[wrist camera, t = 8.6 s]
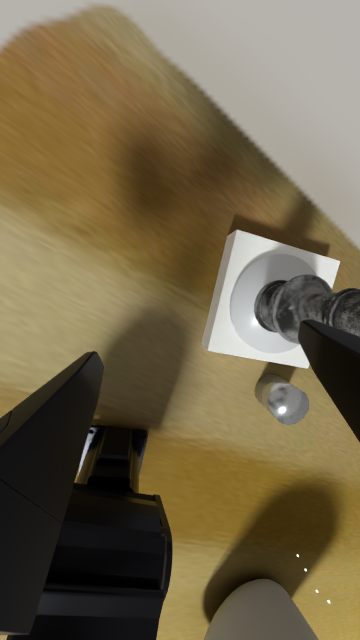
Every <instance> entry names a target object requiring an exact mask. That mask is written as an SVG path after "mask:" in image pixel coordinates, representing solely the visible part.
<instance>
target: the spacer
mask: <svg viewBox="0 0 360 640" xmlns="http://www.w3.org/2000/svg"><path fill="white" fill-rule="evenodd" d="M255 396H256V398H257V400H258V401H259V402H260V403H261V404H262V405H263V406H264V407H265V408H266V409H267V410H268V411H269V412H270V413H271V414H272V415H273V416H274V417H275V418H276V419H277V420H278V421H279V422H281V423H283V424H286V425H292V424H295V423H297V422H299V421H300V420H302V419H303V418H304V416H305V415H306V413H307V411H308V408H309V400H308V397H307V395H306V394H305V393H304V392H303V391H301V390H300V389H298V388H297V387H295V386H294V385H292V384H291V383H289V382H287V381H286V380H284V379H283V378H281V377H280V376H278V375H276V374H268V375H265V376H264V377H262V378H261V379H260V380H259V381H258V383H257V384H256V387H255Z"/></svg>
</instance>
